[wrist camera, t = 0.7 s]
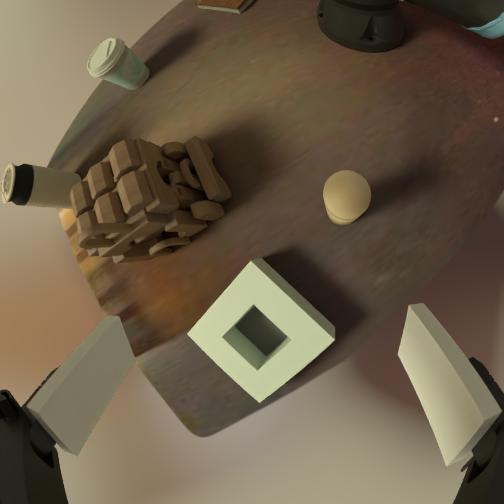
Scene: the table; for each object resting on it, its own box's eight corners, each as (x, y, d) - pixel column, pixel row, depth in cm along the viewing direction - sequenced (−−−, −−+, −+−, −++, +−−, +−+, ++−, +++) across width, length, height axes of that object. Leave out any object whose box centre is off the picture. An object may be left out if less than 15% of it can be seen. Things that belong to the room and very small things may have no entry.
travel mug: (75, 166, 49) (10, 154, 32) (87, 186, 48) (16, 175, 31) (61, 195, 51) (-2, 188, 34) (72, 216, 50) (4, 213, 32)
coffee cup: (142, 97, 43) (101, 72, 32) (117, 95, 45) (78, 74, 34) (162, 61, 42) (126, 32, 30) (135, 62, 44) (100, 38, 32)
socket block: (261, 258, 38) (250, 260, 33) (335, 327, 35) (334, 339, 30) (203, 324, 41) (187, 333, 36) (268, 385, 38) (259, 402, 34)
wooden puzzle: (204, 134, 40) (127, 82, 22) (241, 214, 38) (165, 197, 21) (111, 203, 46) (29, 194, 28) (135, 275, 45) (48, 290, 27)
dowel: (331, 192, 34) (329, 164, 21) (360, 201, 33) (375, 178, 20) (323, 221, 35) (317, 210, 22) (352, 230, 34) (364, 224, 21)
